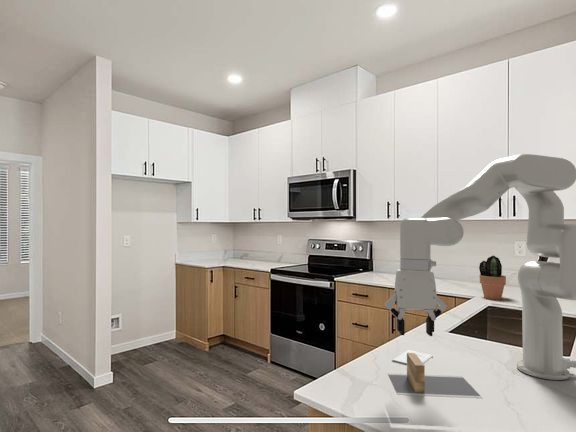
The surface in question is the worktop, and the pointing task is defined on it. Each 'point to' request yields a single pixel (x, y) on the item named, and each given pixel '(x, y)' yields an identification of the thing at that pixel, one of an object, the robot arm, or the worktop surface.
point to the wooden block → (416, 372)
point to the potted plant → (492, 278)
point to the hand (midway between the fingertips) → (415, 333)
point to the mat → (435, 386)
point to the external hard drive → (421, 356)
